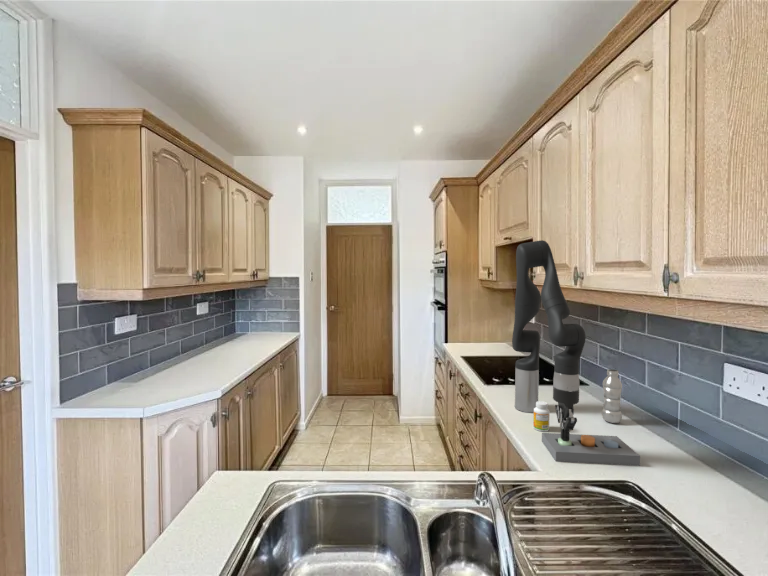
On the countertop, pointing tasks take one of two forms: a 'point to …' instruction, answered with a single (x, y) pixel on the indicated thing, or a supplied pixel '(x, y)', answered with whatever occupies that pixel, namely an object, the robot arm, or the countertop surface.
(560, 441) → the green button
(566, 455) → the button box
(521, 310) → the robot arm
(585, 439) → the orange button
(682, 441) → the countertop surface
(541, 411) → the supplement bottle
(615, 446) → the blue button
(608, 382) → the plastic bottle
